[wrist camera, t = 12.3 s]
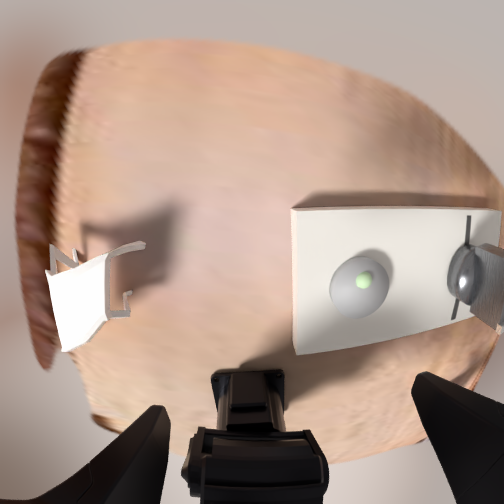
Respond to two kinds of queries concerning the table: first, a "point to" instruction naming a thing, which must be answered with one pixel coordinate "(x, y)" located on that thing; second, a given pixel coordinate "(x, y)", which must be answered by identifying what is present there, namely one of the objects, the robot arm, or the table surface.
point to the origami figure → (84, 295)
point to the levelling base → (378, 271)
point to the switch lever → (480, 282)
